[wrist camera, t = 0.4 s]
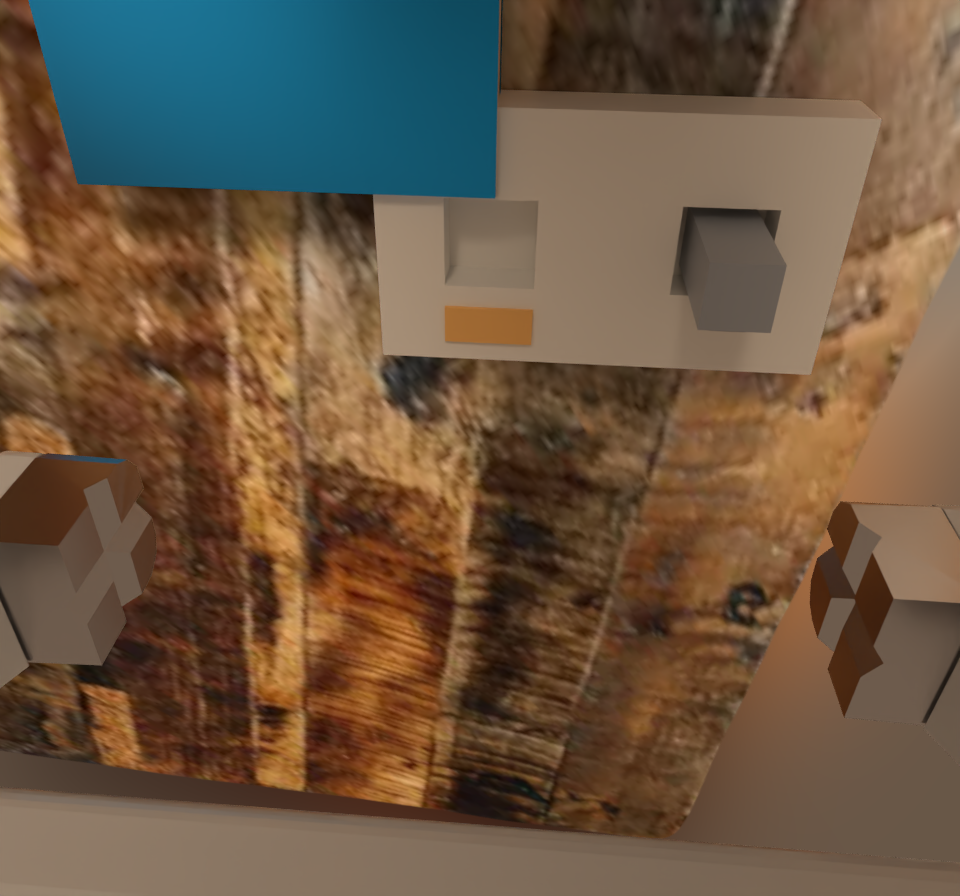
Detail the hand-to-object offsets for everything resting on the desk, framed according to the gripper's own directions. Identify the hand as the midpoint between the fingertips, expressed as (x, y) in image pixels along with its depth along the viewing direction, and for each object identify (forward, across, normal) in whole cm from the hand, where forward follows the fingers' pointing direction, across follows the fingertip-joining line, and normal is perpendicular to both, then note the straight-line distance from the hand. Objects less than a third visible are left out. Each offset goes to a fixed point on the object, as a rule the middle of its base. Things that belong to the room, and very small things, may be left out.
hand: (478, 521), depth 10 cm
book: (+45, +14, +2) cm, 47 cm away
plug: (+44, -12, +13) cm, 48 cm away
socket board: (+45, -5, +13) cm, 48 cm away
